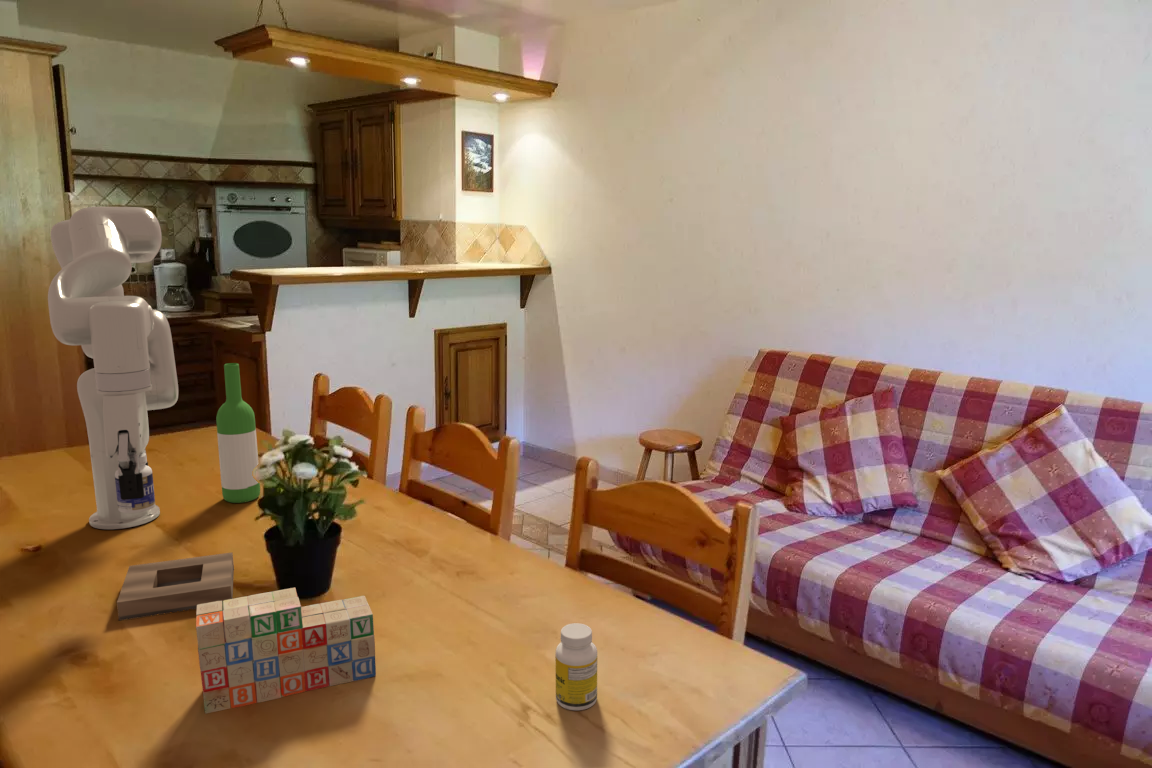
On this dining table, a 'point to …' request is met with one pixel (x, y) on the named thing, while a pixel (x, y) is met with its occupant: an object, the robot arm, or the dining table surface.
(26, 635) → the dining table surface
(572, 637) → the supplement bottle
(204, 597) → the holder block
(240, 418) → the wine bottle
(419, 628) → the dining table surface
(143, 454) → the pill bottle
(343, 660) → the stack of blocks
